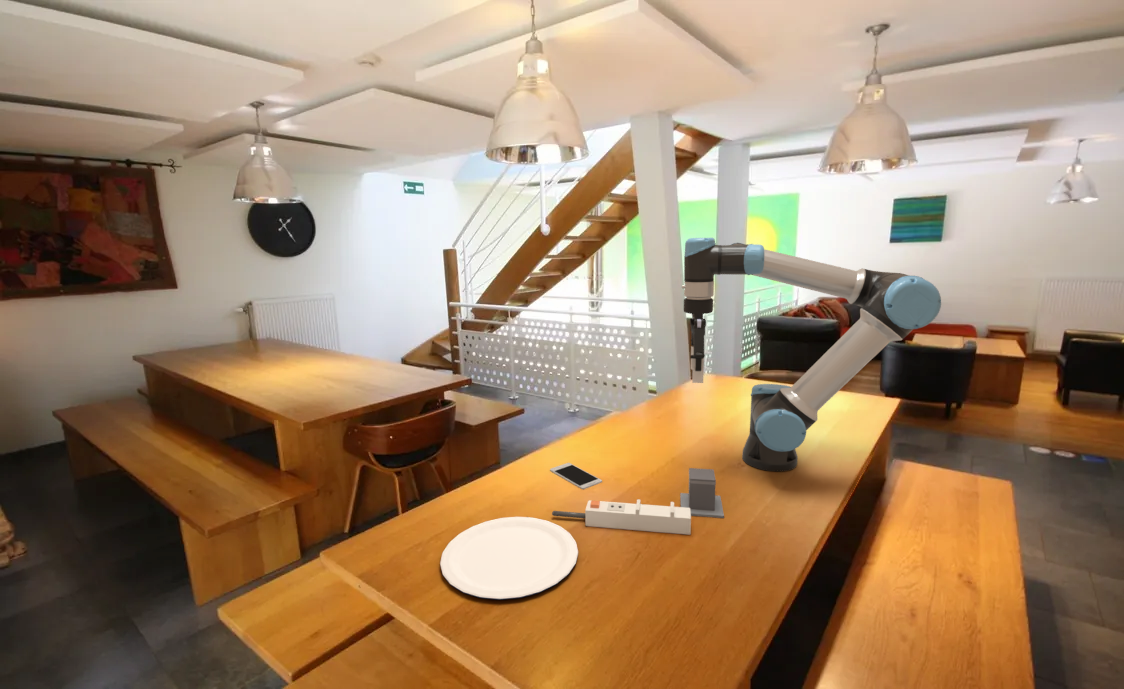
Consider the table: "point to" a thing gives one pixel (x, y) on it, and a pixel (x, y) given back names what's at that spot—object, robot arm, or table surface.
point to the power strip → (634, 516)
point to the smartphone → (576, 475)
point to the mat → (704, 513)
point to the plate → (509, 558)
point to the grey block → (702, 489)
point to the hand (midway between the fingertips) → (696, 375)
